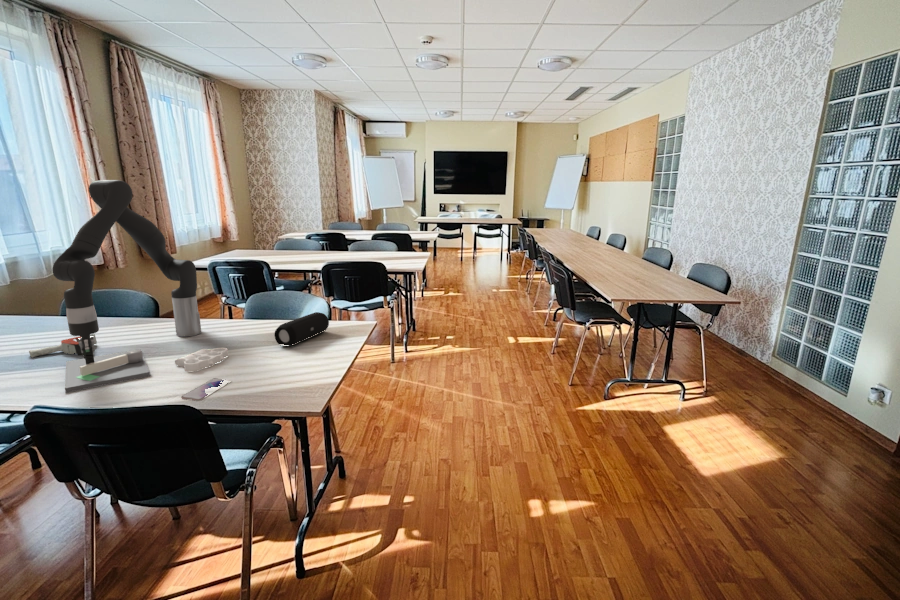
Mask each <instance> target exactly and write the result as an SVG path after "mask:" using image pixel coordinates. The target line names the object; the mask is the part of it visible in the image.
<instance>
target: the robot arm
mask: <svg viewBox="0 0 900 600" xmlns="http://www.w3.org/2000/svg"><path fill="white" fill-rule="evenodd" d="M88 193H89V197H90V198H91V199H92V201H93V202H94V204H96V205H97V206H98V207H99V208H100V210H99V211H98V212H97V213H96V214H94V216H93V217H91V218H90V219H89V220H87V221H86V222H85V223H84V224H83V225H82V226H81V227H80V228H79V230H78V231H77V233H76V235H75V237H74V239H73V241H72V243H71V245H70V246H68V248H66V249H65V250H64V251H63V253H61V255H59V256H58V257H57V259H56V260H55V261H54V263H53V265H52V275H53V276H54V277H55V279H57V280H59V281H62V282H74V284H73V287H72V288H69V289H66V290H64V292H63V298H64V304H65V310H66V319H67V324H68V330H69V334H70V336H73V337H80V336H81V338H78V342H79V346H80V347H81V352H82V353H83V355H82V356H83V359H85V361H86V365H87V364H91V363H94V357H95V353H93V352H95V344H94V338H93V336H91V337H90V335H91V334H96V333H98V332H99V330H100V328H99V322H98V316H97V312H96V309H95V305H94V299H93V294H92V293H93V287H94V281H95V274H96V273H95V268H94V266H93V265H92V264H91V262H90V261H88V259H89V260H90V259H93V258H95V257H96V256H97V255H98V252H99V251H100V249H101V247H102V246H103V245H102V244H103V243H104V240H105V239H106V237H107V235H108V233H109V232H110V230H111V229H112V227H113V226H114V224H116V223H117V224H118V225H119V226H121V228H123V229H122V230H124V231H125V232H126V233H127V234H128V235H129V237H131V238H132V239H133V241H135V243H136V244H137V245H138V246H139V247H140V248H141V249H142V250H143V251H144V252H145V253H146V254H147V255H148V256H149V257H150V258H151V260H152V261H153V262H154V264H155V265H156V266H157V267H158V269H159V270H160V271H161V273H162V274H163V275H164V276H165V277H166V278H167V279H168V280H170V281H175V282H179V287H177V288H175V289H172V290H171V293H170V295H171V302H172V309H173V319H174V324H175V325H174V326H175V333H176V334H175V335H176V336H177V337H179V338H180V337H182V338H184V337H193V336H197V335H199V334H202V325H201V318H200V317H201V315H200V312H199V308H198V300H197V290H198V280H197V269H196V265H195V264H194V261H191V260H188V259H176V258H174V257H173V256H172V255H171V254H170V253H169V251H168V250H167V249H166V247H167V246H166V244H167V243H166V238H165V236H164V234H163V233H162V232H161V230H160V229H159V228H158V227H157V225H155V224H154V223H153V222H152V221H151V220H149V219H147V218H146V217H144V216H143V215H141V214H139V213H137V212H136V211H134V210H132V209H130V208H129V206H130V204H131V202H132V200H133V195H134V194H133V189H132V187H131V186H130V185H129V183H127V182H126V181H124V180H120V179H101V180H100V179H99V180H95V181H93V182H91V183H90V184H89V186H88Z"/></svg>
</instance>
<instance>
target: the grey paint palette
mask: <svg viewBox="0 0 900 600" xmlns="http://www.w3.org/2000/svg"><path fill="white" fill-rule="evenodd" d="M228 355H229V349H228V348H227V347H216V348H211V349H208V348H201V349H199V350H197V351H195V352H192V353H189V354H187V355H185V356H182V357H179V358H177V359H175V360H174V364H175V365H176V366H177V365H178V367H184V371H185V372H186V371H195V372H198V371H197V370H199V371H201V370H203V369H202V368H204V369H206V368H205V367H209V366H212V365H214V364H215V363H217V362H220V361H222V360H223V361H225V360H226V359H227V358H224V357H226V356H228ZM223 361H222V362H223ZM214 366H215V365H214ZM212 367H213V366H212ZM209 368H210V367H209ZM200 369H201V370H200Z"/></svg>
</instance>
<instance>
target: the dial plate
mask: <svg viewBox="0 0 900 600" xmlns="http://www.w3.org/2000/svg"><path fill="white" fill-rule="evenodd" d="M137 350H141V351H142V349H137ZM129 351H130V350H128V351H121V352H116V353H109V354H104V355H96V356H94V362H98V361H102V360H105V359H109V358H112V357H116V356H120V355H123V354H125V353H126V352H129ZM131 351H133V350H131ZM142 356H143V360H142V361H140V362H137V363H126V364H123V365H119V366H116V367H112V368H109V369H105V370H102V371H99V372H95V373H92V374H88V375H85V376H82V375H81V373H80V368H79V367H80V366H83V365H86V361H85V359H84V358H80V359H74V360H73V359H72V360H68V361H67V360H66V361H65V379H64V390H65V391H64V392H65V394H66V393H71V392H72V393H73V392H77V391H82V390H86V389H90V388H91V389H92V388H96V387H101V386H107V385H112V384H116V383H122V382H127V381H133V380H139V379H141V378H142V379H143V378H147V377H151V373H150V369H149V367H148V363H146V360H145V357H144V354H143V353H142Z"/></svg>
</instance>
